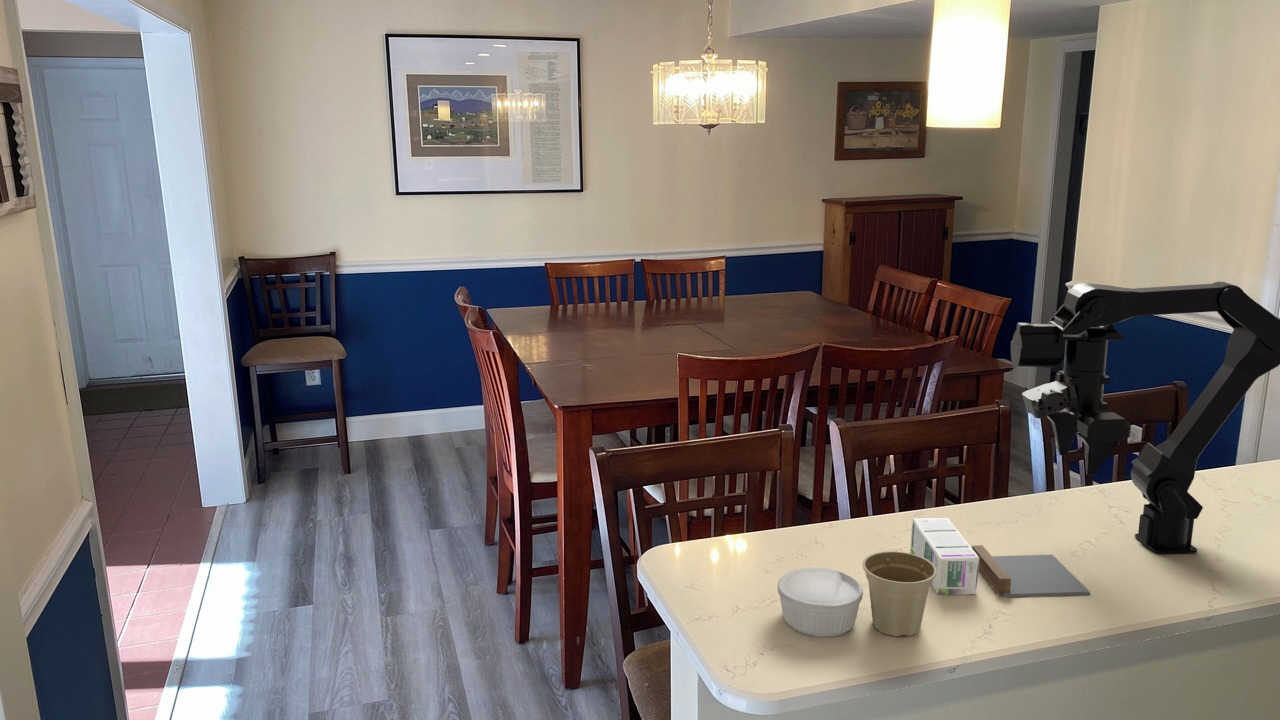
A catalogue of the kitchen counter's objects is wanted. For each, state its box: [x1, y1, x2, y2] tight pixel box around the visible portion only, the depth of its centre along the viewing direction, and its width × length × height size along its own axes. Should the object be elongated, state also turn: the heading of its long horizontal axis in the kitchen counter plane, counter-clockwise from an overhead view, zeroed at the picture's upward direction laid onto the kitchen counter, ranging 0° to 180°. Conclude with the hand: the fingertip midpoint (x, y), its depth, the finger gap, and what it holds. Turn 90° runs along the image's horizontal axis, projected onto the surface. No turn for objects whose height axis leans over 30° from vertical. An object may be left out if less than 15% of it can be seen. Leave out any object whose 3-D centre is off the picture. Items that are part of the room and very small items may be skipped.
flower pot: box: [862, 550, 937, 637], centre depth 121 cm, size 9×9×9 cm
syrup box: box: [909, 517, 980, 596], centre depth 136 cm, size 6×6×14 cm
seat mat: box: [991, 554, 1091, 598], centre depth 134 cm, size 12×12×1 cm
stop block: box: [971, 544, 1011, 596], centre depth 134 cm, size 2×11×2 cm, turn 0°
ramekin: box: [777, 567, 864, 638], centre depth 123 cm, size 11×11×5 cm
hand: (1076, 464), depth 142 cm, fingers open, 9 cm apart
